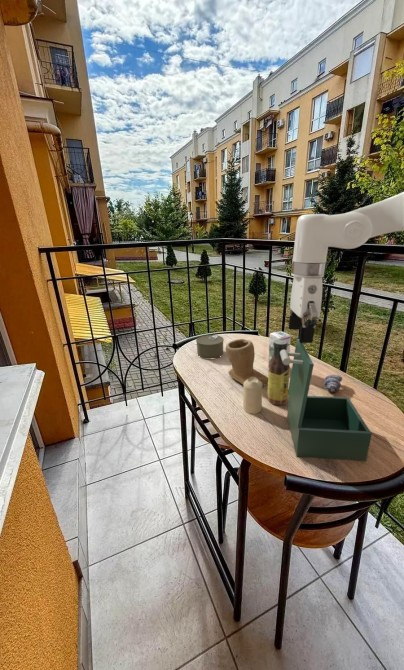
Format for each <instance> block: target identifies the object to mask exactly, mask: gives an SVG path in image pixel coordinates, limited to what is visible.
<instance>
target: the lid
mask: <svg viewBox="0 0 404 670" xmlns="http://www.w3.org/2000/svg"><path fill="white" fill-rule="evenodd" d="M280 355H281V359H282V362H283V364H284V365H289V366H290V364H292V365H291V370H290V371H291V372H290V376H289V386H288V401H289V400H290V403H291V407H292V410H293V414H294V417H295V421H296V424H297V428H301V426H302V421H303V416H304V411H305V406H306V401H307V396H309V392H310V391H309V390H310V385H311V380H312V375H313V370H314V365H315V364H314V362H313V360H312V358H311V357H310V354H309V353H308V351H307V349H306V347H305V345H304V343H300V342H299V338H296V343H295V348H294V352H291V351H290V352H287V351H286V350H281V351H280ZM291 357H293V358H291Z"/></svg>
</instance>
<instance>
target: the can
mask: <svg viewBox="0 0 404 670" xmlns="http://www.w3.org/2000/svg"><path fill="white" fill-rule="evenodd" d="M195 342H196V355H197V354H198V355H197V356H198V357H199V356H200V357H202V358H201V359H203V358H216V359H218V358H217V357H219V358H221V357H223V356H224V337H223V336H221V335H217V334H204V335H200V336H198V337H197V338H196V339H195ZM220 356H221V357H220ZM200 357H199V358H200Z"/></svg>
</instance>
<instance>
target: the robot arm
mask: <svg viewBox="0 0 404 670" xmlns="http://www.w3.org/2000/svg"><path fill="white" fill-rule="evenodd" d="M395 232H404V191H401V192H399V193H398V194H396V195H393V196H391V197H388V198H385V199H383V200H380V201H377V202H375V203H372V204H369V205H365V206H363V207H359V208H357V209H353V210H351V211H348V212H345V213H339V214H325V213H311V214H309V213H307V214H302V215H300V216H299V217H298V218H297V220H296V227H295V235H294V243H293V244H294V245H293V253H292V254H293V255H292V263H291V272H290V273H291V274H290V275H291V276H292V277H293V278H292V285H291V292H290V300H289V302H290V303H289V307H290V310H289V318H288V319H289V320H288V328H287V329H288V330H292V331H293V330H294V331H295V330H299V337H298V339H299V342H300V343H302V344H313V342H314V335H315V329H316V325H317V320H318V319H319V318H320V317H321V311H322V310H321V309H322V299H323V278H324V277H325V270H326V263H327V258H328V249H329V248H337V249H345V250H352V249H356V248H359V247H361V246H363V245H364V244H365V243H366V242H367V241H368V240H369V239H371V238H374V237H378V236H382V235H386V234H390V233H395Z"/></svg>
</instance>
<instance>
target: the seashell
mask: <svg viewBox="0 0 404 670" xmlns="http://www.w3.org/2000/svg"><path fill="white" fill-rule="evenodd" d="M342 381H343V376H341V375H339V374H328V375H326V376H325V378H324V382H323V387H324V389H325V390H327V391H328V392H329V393H336V392H338V391H339V390H340V389H341V387H342V383H341V382H342Z"/></svg>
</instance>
